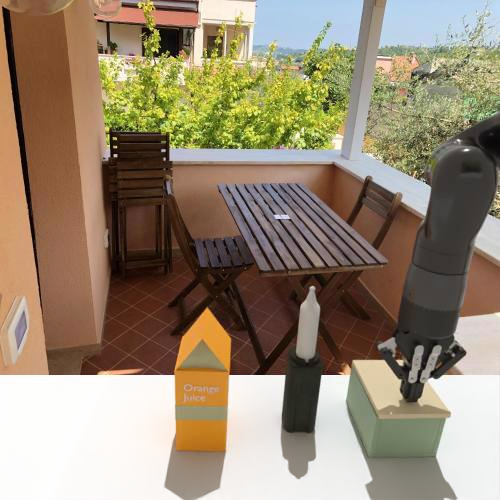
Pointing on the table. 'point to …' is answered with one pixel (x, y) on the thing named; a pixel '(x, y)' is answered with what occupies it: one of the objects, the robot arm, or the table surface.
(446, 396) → the table surface
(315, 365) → the candle
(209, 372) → the orange juice
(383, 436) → the chest
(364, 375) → the lid
